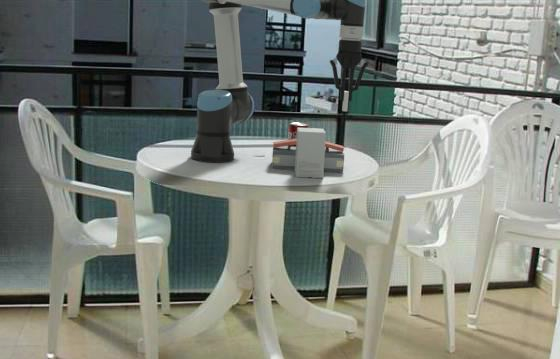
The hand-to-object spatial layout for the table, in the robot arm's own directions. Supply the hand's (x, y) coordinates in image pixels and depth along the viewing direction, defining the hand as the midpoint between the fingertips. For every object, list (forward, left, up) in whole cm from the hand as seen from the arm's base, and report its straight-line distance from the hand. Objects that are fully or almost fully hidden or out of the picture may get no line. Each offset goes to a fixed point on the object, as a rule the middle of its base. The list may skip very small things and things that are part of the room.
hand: (344, 110), depth 231 cm
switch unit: (-11, 0, -20) cm, 23 cm away
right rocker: (-5, 0, -12) cm, 13 cm away
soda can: (-14, +19, -20) cm, 31 cm away
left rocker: (-18, 0, -12) cm, 22 cm away
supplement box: (-11, -11, -21) cm, 26 cm away
